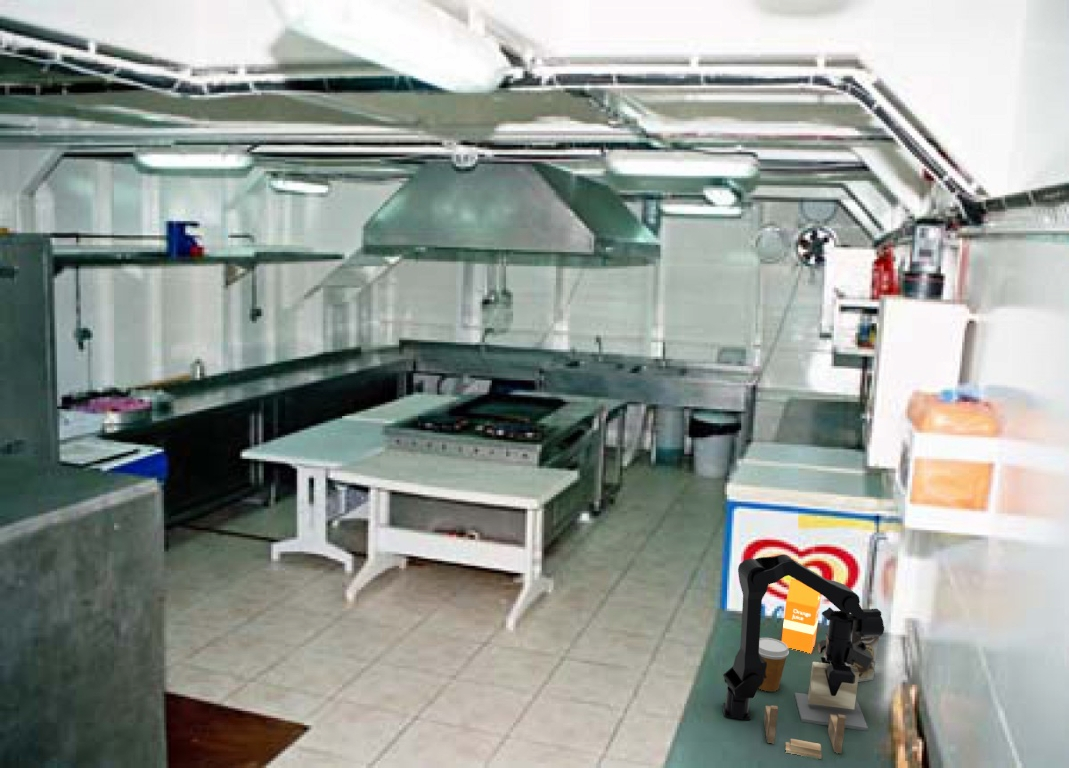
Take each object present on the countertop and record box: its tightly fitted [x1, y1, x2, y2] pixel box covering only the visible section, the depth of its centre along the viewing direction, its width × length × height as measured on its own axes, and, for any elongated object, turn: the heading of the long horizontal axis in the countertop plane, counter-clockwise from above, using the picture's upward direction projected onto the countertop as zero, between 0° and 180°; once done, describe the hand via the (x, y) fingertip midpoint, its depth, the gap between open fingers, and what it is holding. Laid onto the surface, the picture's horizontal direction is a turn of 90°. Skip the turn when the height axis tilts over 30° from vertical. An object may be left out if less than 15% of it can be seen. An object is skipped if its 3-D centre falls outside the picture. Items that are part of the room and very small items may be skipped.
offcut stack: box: [784, 738, 822, 760], centre depth 217 cm, size 4×8×2 cm, turn 76°
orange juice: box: [781, 578, 821, 655], centre depth 275 cm, size 8×9×20 cm
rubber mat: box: [794, 692, 869, 732], centre depth 237 cm, size 14×16×1 cm
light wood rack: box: [763, 705, 846, 754], centre depth 223 cm, size 10×17×9 cm, turn 81°
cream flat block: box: [808, 661, 859, 709], centre depth 236 cm, size 3×11×10 cm, turn 81°
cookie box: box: [845, 630, 880, 683], centre depth 257 cm, size 9×6×16 cm
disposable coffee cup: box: [758, 637, 790, 692], centre depth 248 cm, size 10×10×12 cm
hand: (832, 692), depth 237 cm, fingers closed on cream flat block, 3 cm apart
